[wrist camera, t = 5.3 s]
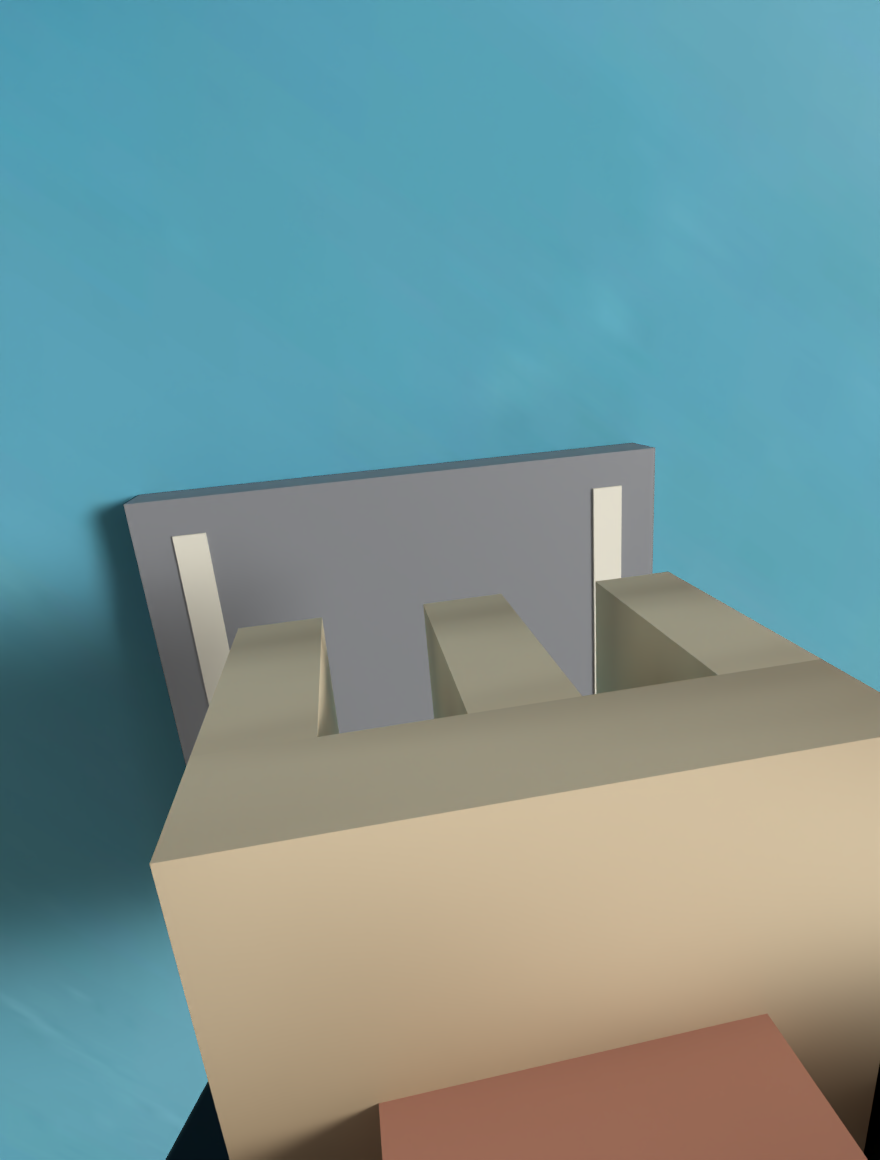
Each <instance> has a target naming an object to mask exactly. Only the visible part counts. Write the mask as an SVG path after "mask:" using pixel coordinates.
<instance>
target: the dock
mask: <svg viewBox="0 0 880 1160" xmlns="http://www.w3.org/2000/svg"><path fill="white" fill-rule="evenodd" d="M654 473H655V448H654V447H649V446H645V445H640V444H636V443H627V444H617V445H608V446H598V447H589V448H579V449H570V450H560V451H551V452H541V453H532V454H522V455H513V456H503V457H494V458H484V459H475V460H465V461H456V462H446V463H437V464H427V465H418V466H408V467H399V468H389V469H380V470H370V471H361V472H351V473H342V474H332V475H323V476H313V477H304V478H294V479H285V480H275V481H266V482H256V483H247V484H237V485H228V486H218V487H209V488H199V489H190V490H180V491H171V492H161V493H152V494H142V495H138V496H137V497H135V498H133V499H132V500H130V501H129V502H127V503H125V504H124V509H125V513H126V517H127V521H128V526H129V530H130V534H131V538H132V542H133V547H134V551H135V555H136V559H137V563H138V567H139V572H140V576H141V580H142V584H143V588H144V592H145V597H146V601H147V605H148V609H149V613H150V618H151V622H152V626H153V630H154V634H155V638H156V643H157V647H158V651H159V655H160V659H161V663H162V668H163V672H164V676H165V680H166V684H167V689H168V693H169V697H170V701H171V705H172V709H173V714H174V718H175V722H176V726H177V730H178V735H179V739H180V743H181V747H182V751H183V755H184V760H185V764H186V766H187V763H188V761H189V758H190V755H191V753H192V750H193V747H194V745H195V742H196V739H197V737H198V734H199V731H200V729H201V726H202V723H203V721H204V718H205V715H206V713H207V710H208V708H209V705H210V702H211V700H212V697H213V694H214V692H215V689H216V686H217V684H218V681H219V678H220V676H221V673H222V670H223V668H224V665H225V662H226V660H227V657H228V654H229V652H230V649H231V646H232V644H233V641H234V638H235V636H236V633H237V631H238V628H245V627H253V626H260V625H268V624H276V623H283V622H291V621H298V620H306V619H314V618H321V617H322V620H323V627H324V634H325V640H326V647H327V654H328V661H329V667H330V674H331V681H332V688H333V694H334V701H335V708H336V715H337V721H338V728H339V734H341V733H347V732H353V731H360V730H366V729H373V728H379V727H386V726H392V725H399V724H405V723H412V722H418V721H425V720H431V719H434V712H433V702H432V691H431V681H430V670H429V660H428V649H427V639H426V629H425V618H424V608H423V604H427V603H435V602H443V601H450V600H458V599H465V598H473V597H481V596H488V595H496V594H502V595H503V597H504V598H505V599H506V600H507V602H508V603H509V604H510V606H511V607H512V608H513V609H514V611H515V612H516V613H517V614H518V616H519V617H520V618H521V619H522V621H523V622H524V623H525V624H526V626H527V627H528V628H529V630H530V631H531V632H532V633H533V635H534V636H535V637H536V638H537V640H538V641H539V642H540V643H541V645H542V646H543V647H544V648H545V650H546V651H547V652H548V654H549V655H550V656H551V657H552V659H553V660H554V661H555V662H556V664H557V665H558V666H559V667H560V669H561V670H562V671H563V672H564V674H565V675H566V676H567V678H568V679H569V680H570V681H571V683H572V684H573V685H574V686H575V688H576V689H577V690H578V691H579V693H580V694H581V695H582V696H586V695H592V694H596V588H595V581H602V580H610V579H617V578H625V577H632V576H640V575H647V574H652V562H653V518H654Z"/></svg>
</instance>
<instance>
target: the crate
mask: <svg viewBox="0 0 880 1160" xmlns="http://www.w3.org/2000/svg"><path fill="white" fill-rule="evenodd" d="M379 1115H380V1131H381V1146H382V1160H868V1159H867V1158H866V1156H865V1155H864V1153H863V1152H862V1150H861V1149H860V1147H859V1146H858V1145H857V1143H856V1142H855V1140H854V1139H853V1137H852V1136H851V1134H850V1133H849V1131H848V1130H847V1129H846V1127H845V1126H844V1124H843V1123H842V1121H841V1120H840V1118H839V1117H838V1115H837V1114H836V1113H835V1111H834V1110H833V1108H832V1107H831V1105H830V1104H829V1102H828V1101H827V1099H826V1098H825V1097H824V1095H823V1094H822V1092H821V1091H820V1089H819V1088H818V1086H817V1085H816V1083H815V1082H814V1081H813V1079H812V1078H811V1076H810V1075H809V1073H808V1072H807V1070H806V1069H805V1067H804V1066H803V1065H802V1063H801V1062H800V1060H799V1059H798V1057H797V1056H796V1054H795V1053H794V1051H793V1050H792V1049H791V1047H790V1046H789V1044H788V1043H787V1041H786V1040H785V1038H784V1037H783V1035H782V1034H781V1033H780V1031H779V1030H778V1028H777V1027H776V1025H775V1024H774V1022H773V1021H772V1019H771V1018H770V1017H769V1015H768V1014H763V1015H758V1016H754V1017H750V1018H745V1019H741V1020H737V1021H732V1022H728V1023H724V1024H719V1025H715V1026H711V1027H706V1028H702V1029H698V1030H694V1031H689V1032H685V1033H681V1034H676V1035H672V1036H668V1037H663V1038H659V1039H655V1040H650V1041H646V1042H642V1043H637V1044H633V1045H629V1046H624V1047H620V1048H616V1049H611V1050H607V1051H603V1052H598V1053H594V1054H590V1055H585V1056H581V1057H577V1058H573V1059H568V1060H564V1061H560V1062H555V1063H551V1064H547V1065H542V1066H538V1067H534V1068H529V1069H525V1070H521V1071H516V1072H512V1073H508V1074H503V1075H499V1076H495V1077H490V1078H486V1079H482V1080H477V1081H473V1082H469V1083H465V1084H460V1085H456V1086H452V1087H447V1088H443V1089H439V1090H434V1091H430V1092H426V1093H421V1094H417V1095H413V1096H408V1097H404V1098H400V1099H395V1100H391V1101H387V1102H382V1103H379Z"/></svg>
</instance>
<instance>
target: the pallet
mask: <svg viewBox="0 0 880 1160" xmlns="http://www.w3.org/2000/svg"><path fill="white" fill-rule="evenodd" d="M595 588H596V694H592V695H586V696H582V695H581V694H580V693H579V691H578V690H577V689H576V688H575V686H574V685H573V684H572V683H571V681H570V680H569V679H568V678H567V676H566V675H565V674H564V672H563V671H562V670H561V669H560V667H559V666H558V665H557V664H556V662H555V661H554V660H553V659H552V657H551V656H550V655H549V654H548V652H547V651H546V650H545V648H544V647H543V646H542V645H541V643H540V642H539V641H538V640H537V638H536V637H535V636H534V635H533V633H532V632H531V631H530V630H529V628H528V627H527V626H526V624H525V623H524V622H523V621H522V619H521V618H520V617H519V616H518V614H517V613H516V612H515V611H514V609H513V608H512V607H511V606H510V604H509V603H508V602H507V600H506V599H505V598H504V597H503V595H502V594H496V595H488V596H481V597H473V598H465V599H458V600H450V601H443V602H435V603H427V604H423V608H424V618H425V629H426V639H427V649H428V660H429V670H430V681H431V691H432V702H433V712H434V719H431V720H425V721H418V722H412V723H405V724H399V725H392V726H386V727H379V728H373V729H366V730H360V731H353V732H347V733H341V734H339V728H338V721H337V715H336V708H335V701H334V694H333V688H332V681H331V674H330V667H329V661H328V654H327V647H326V640H325V634H324V627H323V620H322V617H321V618H314V619H306V620H298V621H291V622H283V623H276V624H268V625H260V626H253V627H245V628H238V631H237V633H236V636H235V638H234V641H233V644H232V646H231V649H230V652H229V654H228V657H227V660H226V662H225V665H224V668H223V670H222V673H221V676H220V678H219V681H218V684H217V686H216V689H215V692H214V694H213V697H212V700H211V702H210V705H209V708H208V710H207V713H206V715H205V718H204V721H203V723H202V726H201V729H200V731H199V734H198V737H197V739H196V742H195V745H194V747H193V750H192V753H191V755H190V758H189V761H188V763H187V766H186V769H185V771H184V774H183V777H182V779H181V782H180V785H179V787H178V790H177V793H176V795H175V798H174V800H173V803H172V806H171V808H170V811H169V814H168V816H167V819H166V822H165V824H164V827H163V830H162V832H161V835H160V838H159V840H158V843H157V846H156V848H155V851H154V854H153V856H152V859H151V862H150V867H151V871H152V875H153V878H154V882H155V886H156V890H157V893H158V897H159V901H160V904H161V908H162V912H163V915H164V919H165V923H166V926H167V930H168V934H169V938H170V941H171V945H172V949H173V952H174V956H175V960H176V963H177V967H178V971H179V975H180V978H181V982H182V986H183V989H184V993H185V997H186V1000H187V1004H188V1008H189V1011H190V1015H191V1019H192V1023H193V1026H194V1030H195V1034H196V1037H197V1041H198V1045H199V1048H200V1052H201V1056H202V1060H203V1063H204V1067H205V1071H206V1074H207V1078H208V1082H209V1085H210V1089H211V1093H212V1096H213V1100H214V1104H215V1108H216V1111H217V1115H218V1119H219V1122H220V1126H221V1130H222V1133H223V1137H224V1141H225V1144H226V1148H227V1152H228V1156H229V1159H230V1160H382V1146H381V1131H380V1115H379V1103H382V1102H387V1101H391V1100H395V1099H400V1098H404V1097H408V1096H413V1095H417V1094H421V1093H426V1092H430V1091H434V1090H439V1089H443V1088H447V1087H452V1086H456V1085H460V1084H465V1083H469V1082H473V1081H477V1080H482V1079H486V1078H490V1077H495V1076H499V1075H503V1074H508V1073H512V1072H516V1071H521V1070H525V1069H529V1068H534V1067H538V1066H542V1065H547V1064H551V1063H555V1062H560V1061H564V1060H568V1059H573V1058H577V1057H581V1056H585V1055H590V1054H594V1053H598V1052H603V1051H607V1050H611V1049H616V1048H620V1047H624V1046H629V1045H633V1044H637V1043H642V1042H646V1041H650V1040H655V1039H659V1038H663V1037H668V1036H672V1035H676V1034H681V1033H685V1032H689V1031H694V1030H698V1029H702V1028H706V1027H711V1026H715V1025H719V1024H724V1023H728V1022H732V1021H737V1020H741V1019H745V1018H750V1017H754V1016H758V1015H763V1014H768V1015H769V1017H770V1018H771V1019H772V1021H773V1022H774V1024H775V1025H776V1027H777V1028H778V1030H779V1031H780V1033H781V1034H782V1035H783V1037H784V1038H785V1040H786V1041H787V1043H788V1044H789V1046H790V1047H791V1049H792V1050H793V1051H794V1053H795V1054H796V1056H797V1057H798V1059H799V1060H800V1062H801V1063H802V1065H803V1066H804V1067H805V1069H806V1070H807V1072H808V1073H809V1075H810V1076H811V1078H812V1079H813V1081H814V1082H815V1083H816V1085H817V1086H818V1088H819V1089H820V1091H821V1092H822V1094H823V1095H824V1097H825V1098H826V1099H827V1101H828V1102H829V1104H830V1105H831V1107H832V1108H833V1110H834V1111H835V1113H836V1114H837V1115H838V1117H839V1118H840V1120H841V1121H842V1123H843V1124H844V1126H845V1127H846V1129H847V1130H848V1131H849V1133H850V1134H851V1136H852V1137H853V1139H854V1140H855V1142H856V1143H857V1145H858V1146H859V1147H860V1149H861V1150H862V1152H863V1153H864V1148H865V1142H866V1137H867V1131H868V1126H869V1120H870V1114H871V1109H872V1103H873V1098H874V1092H875V1086H876V1081H877V1075H878V1070H879V1064H880V692H878V691H876V690H875V689H873V688H871V687H869V686H868V685H866V684H864V683H862V682H861V681H859V680H857V679H855V678H854V677H852V676H850V675H848V674H847V673H845V672H843V671H841V670H840V669H838V668H836V667H834V666H833V665H831V664H829V663H827V662H826V661H824V660H822V659H820V658H819V657H817V656H815V655H813V654H812V653H810V652H808V651H806V650H805V649H803V648H801V647H799V646H798V645H796V644H794V643H792V642H791V641H789V640H787V639H785V638H784V637H782V636H780V635H778V634H777V633H775V632H773V631H771V630H770V629H768V628H766V627H764V626H763V625H761V624H759V623H757V622H755V621H754V620H752V619H750V618H748V617H747V616H745V615H743V614H741V613H740V612H738V611H736V610H734V609H733V608H731V607H729V606H727V605H726V604H724V603H722V602H720V601H719V600H717V599H715V598H713V597H712V596H710V595H708V594H706V593H705V592H703V591H701V590H699V589H698V588H696V587H694V586H692V585H691V584H689V583H687V582H685V581H684V580H682V579H680V578H678V577H677V576H675V575H673V574H671V573H670V572H663V573H655V574H647V575H640V576H632V577H625V578H617V579H610V580H602V581H595Z"/></svg>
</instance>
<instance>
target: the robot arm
mask: <svg viewBox="0 0 880 1160" xmlns="http://www.w3.org/2000/svg"><path fill="white" fill-rule="evenodd" d="M864 1155H865V1156H866V1158H867V1159H868V1160H880V1064H879V1070H878V1075H877V1081H876V1086H875V1092H874V1098H873V1103H872V1109H871V1114H870V1120H869V1126H868V1131H867V1137H866V1142H865V1148H864ZM166 1160H230V1159H229V1156H228V1152H227V1148H226V1144H225V1141H224V1137H223V1133H222V1130H221V1126H220V1122H219V1119H218V1115H217V1111H216V1108H215V1104H214V1100H213V1096H212V1093H211V1089H210V1085H209V1082H207V1084H206V1086H205V1088H204V1090H203V1092H202V1093H201V1095H200V1097H199V1099H198V1101H197V1103H196V1104H195V1106H194V1108H193V1110H192V1112H191V1114H190V1115H189V1117H188V1119H187V1121H186V1123H185V1125H184V1127H183V1128H182V1130H181V1132H180V1134H179V1136H178V1138H177V1139H176V1141H175V1143H174V1145H173V1147H172V1149H171V1150H170V1152H169V1154H168V1156H167V1158H166Z"/></svg>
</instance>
